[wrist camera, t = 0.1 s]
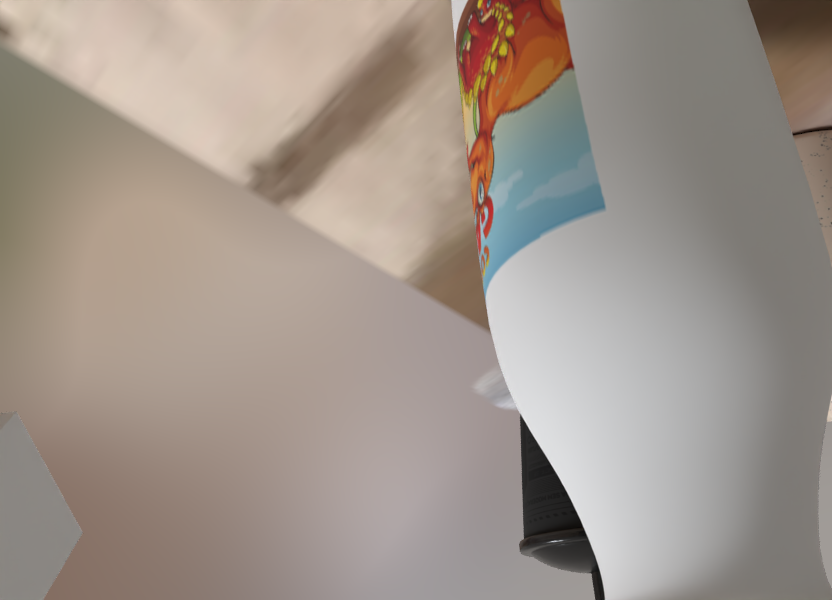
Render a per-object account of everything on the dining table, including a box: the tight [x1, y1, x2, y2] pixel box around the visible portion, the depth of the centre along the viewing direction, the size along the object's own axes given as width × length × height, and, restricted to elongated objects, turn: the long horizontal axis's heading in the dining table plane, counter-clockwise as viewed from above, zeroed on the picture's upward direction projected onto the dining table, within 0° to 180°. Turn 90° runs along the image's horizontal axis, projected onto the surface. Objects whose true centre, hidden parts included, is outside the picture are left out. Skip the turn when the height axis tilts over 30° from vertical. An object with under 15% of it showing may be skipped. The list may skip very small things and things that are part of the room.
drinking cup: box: [519, 414, 605, 600], centre depth 40 cm, size 8×8×20 cm
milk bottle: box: [452, 0, 832, 600], centre depth 18 cm, size 8×8×20 cm
